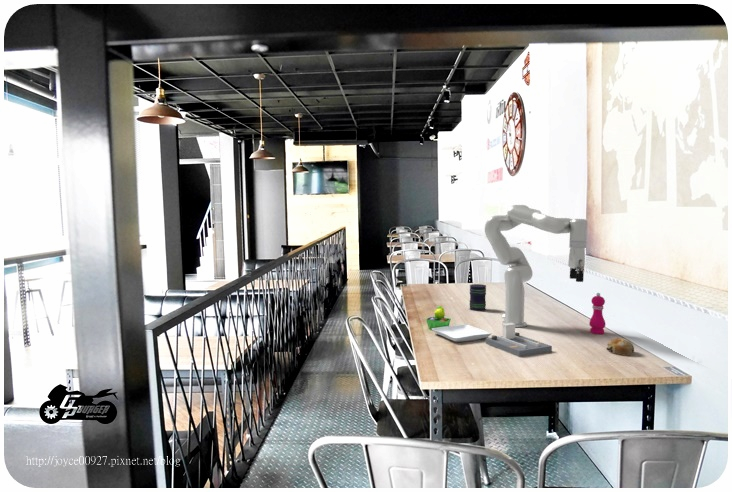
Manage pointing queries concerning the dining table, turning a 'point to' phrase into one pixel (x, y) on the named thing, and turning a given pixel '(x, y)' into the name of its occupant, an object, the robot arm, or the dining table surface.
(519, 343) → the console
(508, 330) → the block
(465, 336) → the salad plate
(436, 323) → the fruit basket
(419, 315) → the dining table surface
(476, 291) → the storage jar
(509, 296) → the robot arm
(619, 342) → the bread roll
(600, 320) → the pepper mill
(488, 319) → the dining table surface
